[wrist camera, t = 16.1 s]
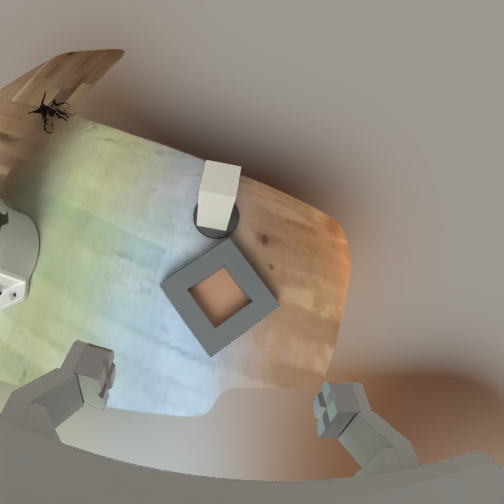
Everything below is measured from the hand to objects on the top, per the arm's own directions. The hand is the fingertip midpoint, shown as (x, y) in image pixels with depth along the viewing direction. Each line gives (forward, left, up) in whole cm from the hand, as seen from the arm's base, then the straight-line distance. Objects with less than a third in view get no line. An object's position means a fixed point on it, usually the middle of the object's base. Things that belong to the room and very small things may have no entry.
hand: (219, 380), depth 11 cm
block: (+14, +16, -33) cm, 39 cm away
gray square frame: (+8, +6, -33) cm, 35 cm away
